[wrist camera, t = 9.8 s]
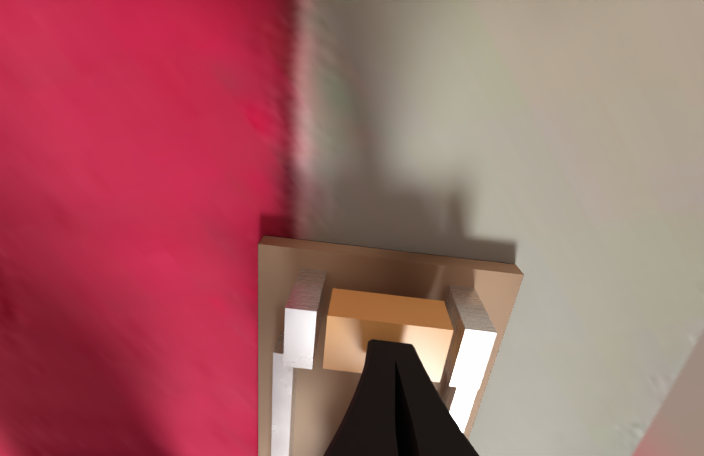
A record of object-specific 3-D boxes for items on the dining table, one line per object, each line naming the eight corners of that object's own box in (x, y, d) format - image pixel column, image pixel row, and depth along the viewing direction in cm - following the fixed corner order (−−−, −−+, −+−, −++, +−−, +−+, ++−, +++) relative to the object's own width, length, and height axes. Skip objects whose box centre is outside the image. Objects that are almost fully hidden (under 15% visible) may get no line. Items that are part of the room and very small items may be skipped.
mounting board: (262, 477, 20) (258, 493, 19) (264, 235, 14) (257, 243, 13) (439, 499, 20) (442, 515, 19) (515, 264, 14) (523, 274, 13)
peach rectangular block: (328, 336, 13) (322, 368, 12) (332, 288, 12) (327, 315, 11) (431, 349, 13) (439, 382, 12) (443, 301, 12) (453, 330, 11)
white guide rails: (275, 489, 19) (261, 549, 16) (282, 265, 13) (263, 305, 11) (426, 507, 19) (434, 570, 16) (492, 290, 13) (519, 335, 11)
